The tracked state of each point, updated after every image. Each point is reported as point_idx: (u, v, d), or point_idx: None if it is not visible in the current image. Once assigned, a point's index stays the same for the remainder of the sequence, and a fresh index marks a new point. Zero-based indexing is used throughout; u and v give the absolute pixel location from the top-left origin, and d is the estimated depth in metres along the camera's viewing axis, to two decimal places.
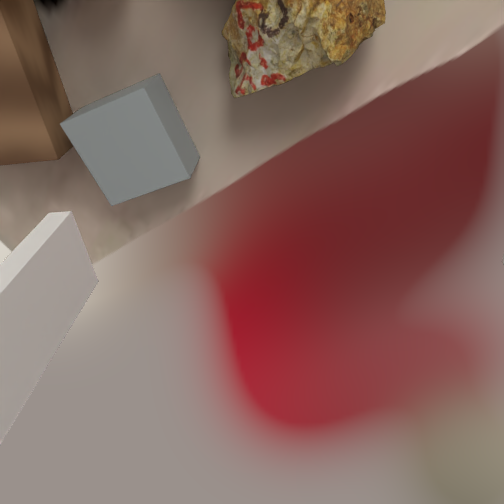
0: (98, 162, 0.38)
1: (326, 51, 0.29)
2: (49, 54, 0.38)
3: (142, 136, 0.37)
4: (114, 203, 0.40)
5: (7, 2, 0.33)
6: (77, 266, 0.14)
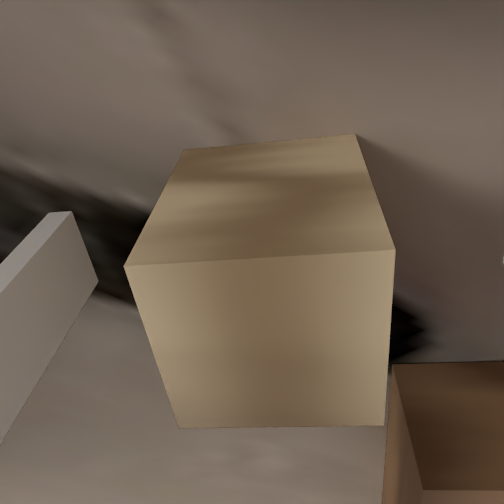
0: None
1: None
2: None
3: None
4: None
5: (424, 451, 0.15)
6: (77, 266, 0.14)
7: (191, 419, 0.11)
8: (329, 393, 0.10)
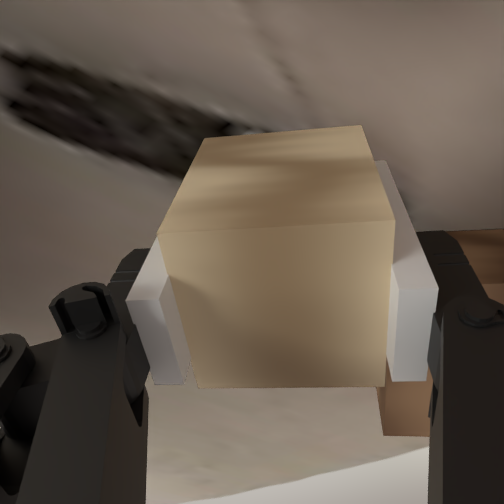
0: None
1: None
2: (462, 235, 0.25)
3: None
4: None
5: None
6: None
7: (210, 379, 0.12)
8: (335, 355, 0.11)
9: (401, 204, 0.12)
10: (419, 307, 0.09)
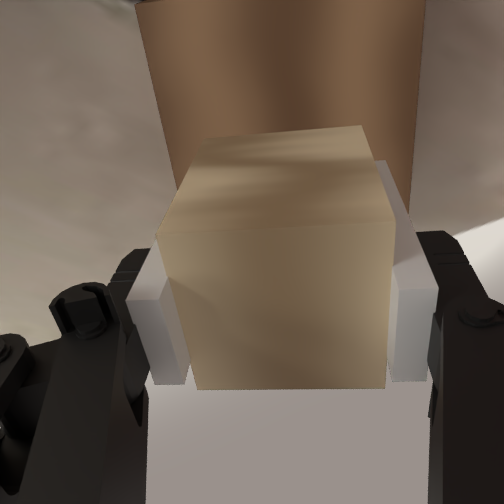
0: None
1: None
2: None
3: None
4: None
5: (149, 0, 0.20)
6: None
7: (210, 381, 0.12)
8: (335, 357, 0.11)
9: (401, 204, 0.12)
10: (419, 307, 0.09)
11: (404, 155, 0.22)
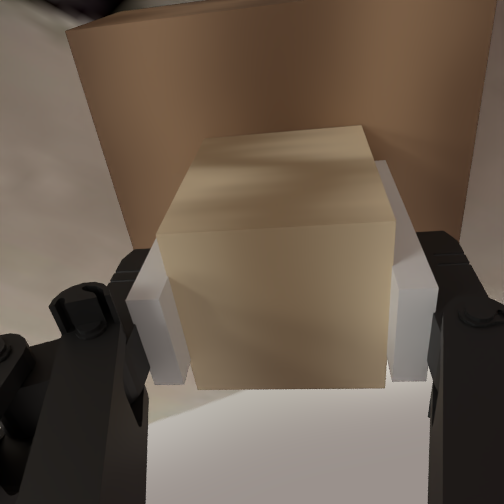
0: None
1: None
2: None
3: None
4: None
5: (91, 23, 0.14)
6: None
7: (210, 380, 0.12)
8: (335, 356, 0.11)
9: (401, 204, 0.12)
10: (419, 307, 0.09)
11: None
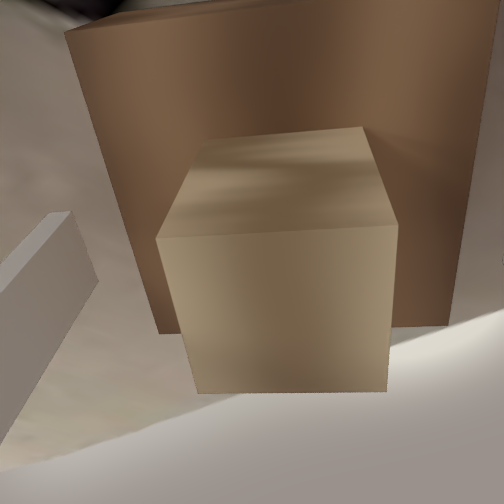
0: None
1: None
2: None
3: None
4: None
5: (90, 24, 0.14)
6: (77, 266, 0.14)
7: (210, 384, 0.12)
8: (336, 360, 0.11)
9: None
10: None
11: (449, 237, 0.16)
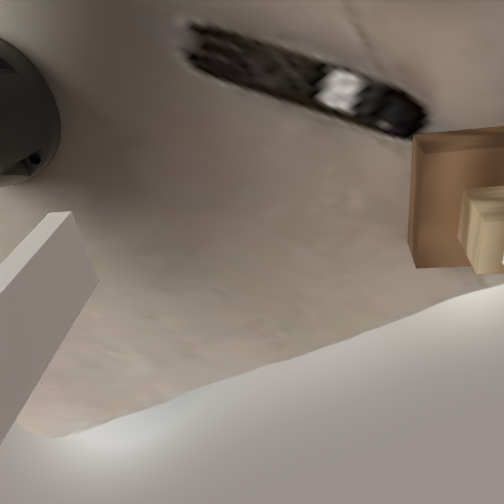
0: None
1: None
2: (464, 131, 0.42)
3: None
4: None
5: (424, 148, 0.40)
6: (77, 266, 0.14)
7: (482, 270, 0.37)
8: None
9: None
10: None
11: None
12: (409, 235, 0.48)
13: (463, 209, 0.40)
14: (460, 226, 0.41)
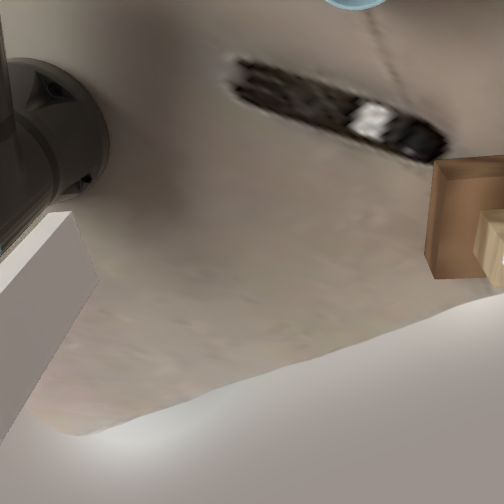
0: None
1: None
2: (480, 158, 0.47)
3: None
4: None
5: (447, 174, 0.44)
6: (77, 266, 0.14)
7: (498, 283, 0.42)
8: None
9: None
10: None
11: None
12: (426, 248, 0.53)
13: (480, 229, 0.45)
14: (477, 242, 0.46)
